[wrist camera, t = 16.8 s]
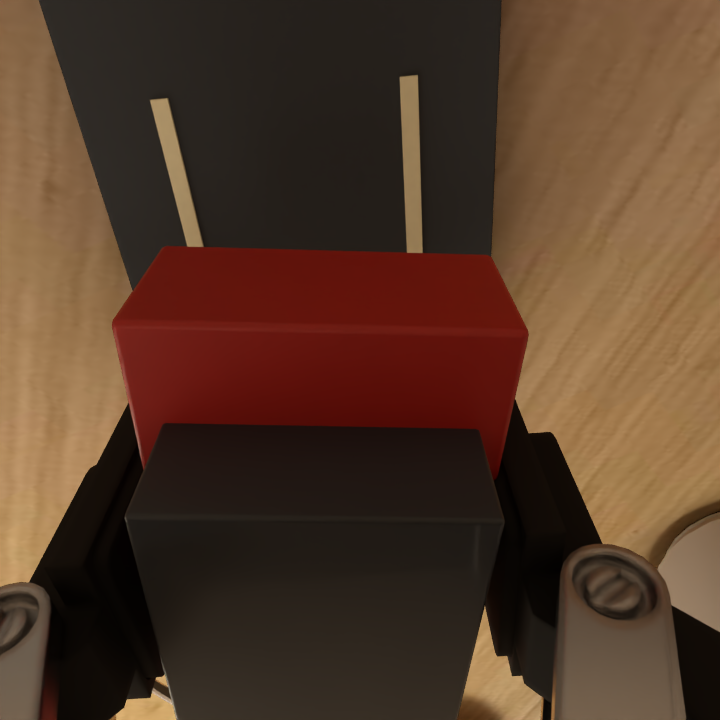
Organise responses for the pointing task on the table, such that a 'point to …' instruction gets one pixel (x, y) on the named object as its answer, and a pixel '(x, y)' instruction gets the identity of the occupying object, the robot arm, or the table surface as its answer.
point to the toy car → (318, 475)
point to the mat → (286, 121)
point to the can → (695, 571)
